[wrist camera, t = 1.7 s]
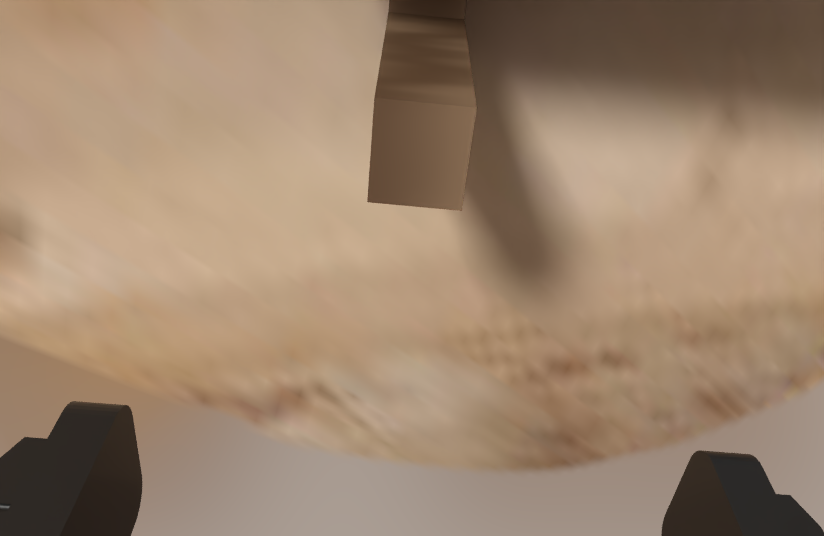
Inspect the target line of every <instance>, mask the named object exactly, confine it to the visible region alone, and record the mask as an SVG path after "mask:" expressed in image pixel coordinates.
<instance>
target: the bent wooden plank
mask: <svg viewBox="0 0 824 536" xmlns="http://www.w3.org/2000/svg"><path fill="white" fill-rule="evenodd" d="M466 3H467V0H390V1H389V13H388V19H387V25H386V32H385V38H384V44H383V50H382V56H381V62H380V68H379V74H378V80H377V86H376V92H375V99H374V114H373V128H372V143H371V157H370V172H369V186H368V201H367V202H372V203H383V204H394V205H405V206H416V207H427V208H438V209H449V210H459V211H462V204H463V197H464V191H465V184H466V177H467V171H468V164H469V158H470V151H471V144H472V138H473V131H474V124H475V118H476V111H477V104H476V97H475V90H474V84H473V77H472V70H471V63H470V56H469V49H468V42H467V35H466V28H465V21H464V18H465V11H466Z"/></svg>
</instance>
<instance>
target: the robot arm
mask: <svg viewBox="0 0 824 536" xmlns="http://www.w3.org/2000/svg"><path fill="white" fill-rule="evenodd" d="M141 494H142V474H141V467H140V461H139V454H138V448H137V441H136V435H135V429H134V422H133V415H132V411H131V409H130V407H129V406H127V405H116V404H103V403H89V402H76V401H73V402H70V403H69V404H68V405H67V406H66V407H65V409H64V410H63V412H62V413H61V415H60V417H59V419H58V421H57V422H56V424H55V426H54V428H53V430H52V432H51V433H50V435H49V437H48V439H43V438H29V437H25V438H23V439H22V440H21V441H20V442H18V443H17V444H16V445H15V446H14V447H12V448H11V449H10V450H9V451H8V452H7V453H5V454H4V455H3V456H2V457H1V458H0V536H131V533H132V531H133V528H134V525H135V522H136V519H137V516H138V512H139V508H140V502H141ZM662 536H824V532H823V530H822V528H821V527H820V526H819V525H818V524H817V523H816V522H815V520H814V519H813V518H811V516H810V515H809V514H808V513H807V512H806V511H805V510H804V509H803V508H802V507H801V506H800V505H799V504H798V503H797V502H796V501H795V500H794V499H793V498H792V497H791V496H790V495H780V494H775V492H774V490H773V488H772V486H771V484H770V482H769V480H768V478H767V476H766V473H765V471H764V469H763V468H762V466H761V464H760V462H759V461H758V460H757V459H756V458H755V457H754V456H752V455H750V454H738V453H724V452H710V451H697V452H695V453H694V454H693V455H692V457H691V459H690V461H689V463H688V465H687V467H686V469H685V472H684V474H683V476H682V478H681V481H680V483H679V485H678V487H677V490H676V492H675V494H674V496H673V499H672V501H671V503H670V505H669V508H668V510H667V512H666V514H665V517H664V521H663V526H662Z"/></svg>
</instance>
